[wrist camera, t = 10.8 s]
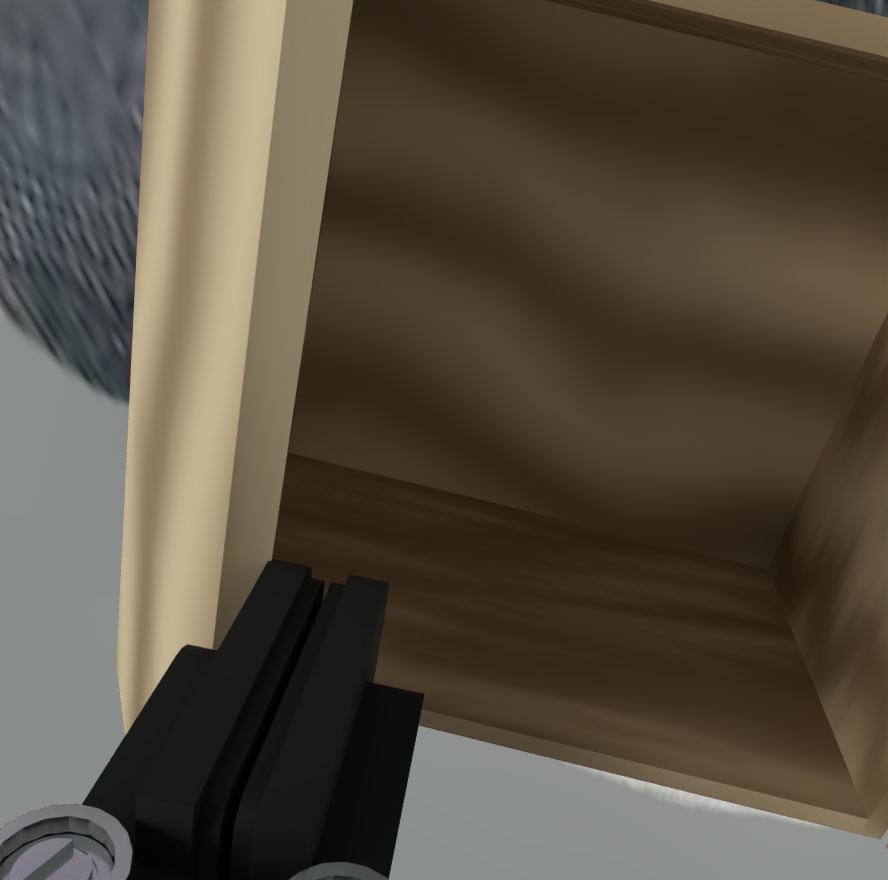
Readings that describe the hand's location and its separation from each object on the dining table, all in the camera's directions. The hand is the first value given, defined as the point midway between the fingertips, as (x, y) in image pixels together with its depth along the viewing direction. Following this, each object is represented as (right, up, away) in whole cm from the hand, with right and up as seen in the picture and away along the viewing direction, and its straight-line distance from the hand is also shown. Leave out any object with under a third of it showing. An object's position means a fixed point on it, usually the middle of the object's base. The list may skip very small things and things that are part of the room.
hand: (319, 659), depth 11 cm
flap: (-3, +3, +4) cm, 5 cm away
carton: (+7, +8, +19) cm, 22 cm away
